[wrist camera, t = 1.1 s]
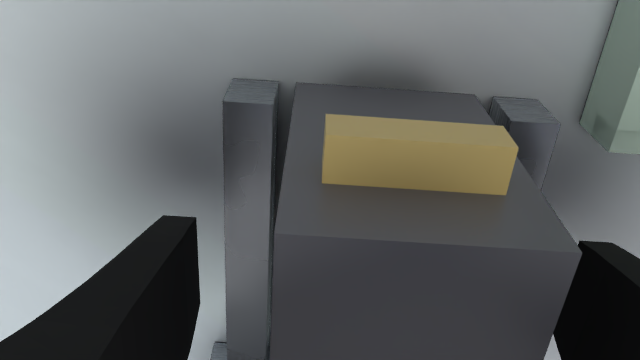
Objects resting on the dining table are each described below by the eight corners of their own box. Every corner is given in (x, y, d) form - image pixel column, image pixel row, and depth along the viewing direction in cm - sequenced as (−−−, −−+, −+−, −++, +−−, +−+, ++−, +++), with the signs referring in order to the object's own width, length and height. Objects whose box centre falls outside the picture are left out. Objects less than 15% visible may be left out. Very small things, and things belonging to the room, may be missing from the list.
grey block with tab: (481, 58, 12) (601, 199, 7) (424, 326, 16) (473, 551, 11) (298, 45, 12) (276, 179, 7) (284, 318, 16) (263, 540, 10)
